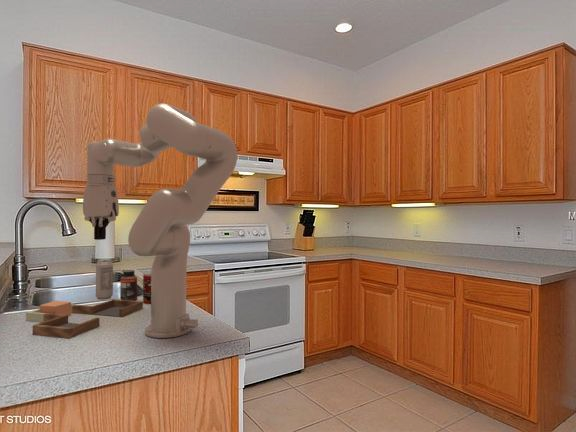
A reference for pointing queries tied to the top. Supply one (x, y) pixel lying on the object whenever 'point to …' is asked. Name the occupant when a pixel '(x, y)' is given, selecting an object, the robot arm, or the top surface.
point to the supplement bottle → (128, 285)
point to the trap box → (59, 323)
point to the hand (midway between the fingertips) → (99, 239)
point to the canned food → (147, 287)
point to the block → (56, 308)
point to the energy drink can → (104, 279)
